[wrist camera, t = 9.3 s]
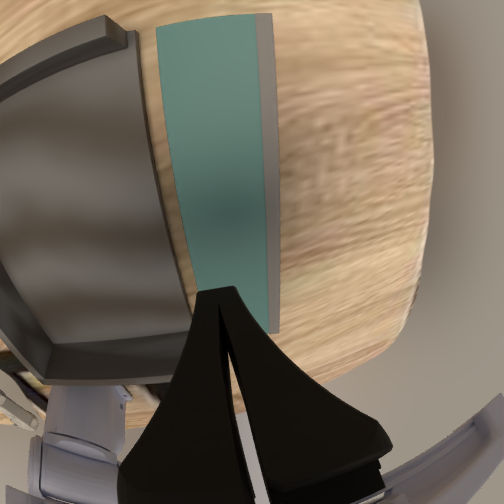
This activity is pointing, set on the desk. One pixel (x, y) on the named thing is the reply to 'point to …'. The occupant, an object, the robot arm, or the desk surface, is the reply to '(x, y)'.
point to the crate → (85, 216)
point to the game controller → (17, 413)
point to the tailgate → (226, 152)
